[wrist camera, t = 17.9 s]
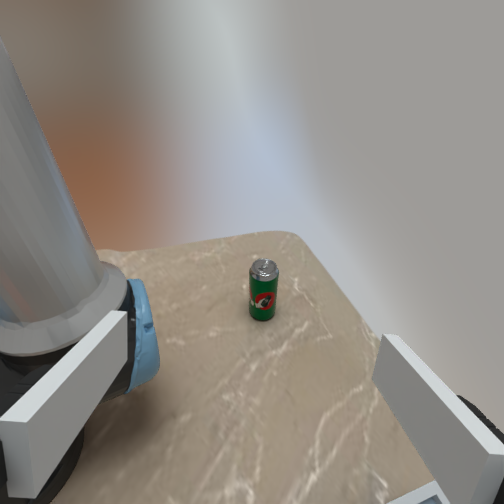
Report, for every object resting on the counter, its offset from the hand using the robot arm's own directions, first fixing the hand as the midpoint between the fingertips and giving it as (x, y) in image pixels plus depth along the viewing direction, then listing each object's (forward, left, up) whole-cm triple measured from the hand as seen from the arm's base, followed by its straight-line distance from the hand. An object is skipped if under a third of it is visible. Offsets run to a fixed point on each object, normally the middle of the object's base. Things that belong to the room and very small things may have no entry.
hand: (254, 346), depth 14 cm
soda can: (+10, +25, -32) cm, 42 cm away
